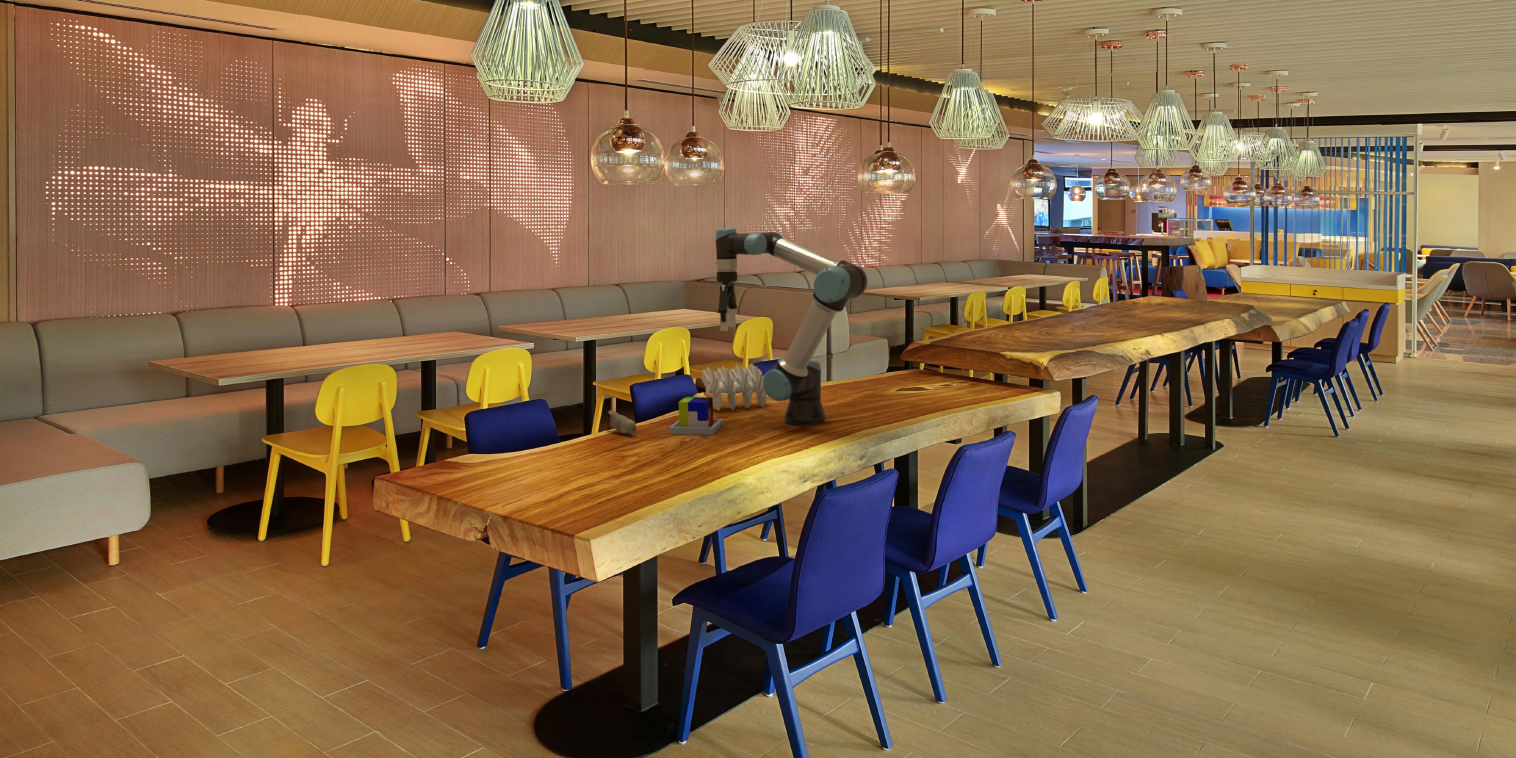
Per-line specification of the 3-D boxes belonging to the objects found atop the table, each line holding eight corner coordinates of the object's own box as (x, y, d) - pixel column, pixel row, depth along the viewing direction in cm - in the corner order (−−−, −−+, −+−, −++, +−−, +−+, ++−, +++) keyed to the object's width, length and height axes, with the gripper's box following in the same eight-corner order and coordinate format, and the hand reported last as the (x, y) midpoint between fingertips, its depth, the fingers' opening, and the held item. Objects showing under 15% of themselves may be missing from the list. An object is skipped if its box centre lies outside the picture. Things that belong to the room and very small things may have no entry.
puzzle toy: (706, 430, 364) (706, 402, 363) (679, 429, 366) (678, 402, 365) (713, 424, 374) (712, 397, 372) (686, 423, 376) (685, 396, 374)
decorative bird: (628, 438, 359) (627, 417, 358) (604, 431, 371) (603, 411, 370) (641, 436, 362) (640, 415, 361) (617, 429, 374) (616, 409, 373)
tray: (723, 425, 377) (722, 419, 376) (713, 435, 361) (713, 428, 361) (680, 424, 380) (680, 418, 379) (669, 434, 364) (668, 427, 364)
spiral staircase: (769, 418, 409) (710, 420, 400) (755, 392, 422) (697, 394, 413) (778, 379, 399) (717, 381, 390) (764, 355, 413) (704, 356, 404)
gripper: (724, 268, 388) (725, 324, 391) (709, 273, 364) (710, 332, 367) (743, 268, 386) (744, 324, 390) (729, 272, 362) (731, 332, 366)
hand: (728, 328), depth 379 cm, fingers open, 13 cm apart
